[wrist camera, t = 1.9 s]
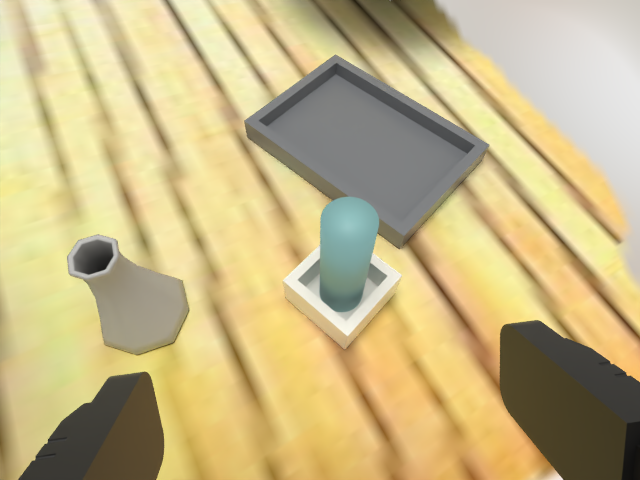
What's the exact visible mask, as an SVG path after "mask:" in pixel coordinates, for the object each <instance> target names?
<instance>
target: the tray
mask: <svg viewBox="0 0 640 480" xmlns="http://www.w3.org/2000/svg"><path fill="white" fill-rule="evenodd" d="M244 122H245V127H246V133H247V137H248V138H249V139H251V140H252V141H253V142H255V143H256V144H257V145H259V146H260V147H261V148H263V149H264V150H266V151H267V152H268V153H270V154H271V155H272V156H274V157H275V158H276V159H278V160H279V161H280V162H282V163H283V164H285V165H286V166H287V167H289V168H290V169H291V170H293V171H294V172H295V173H297V174H298V175H300V176H301V177H302V178H304V179H305V180H306V181H308V182H309V183H310V184H312V185H313V186H314V187H316V188H317V189H319V190H320V191H321V192H323V193H324V194H325V195H327V196H328V197H329V198H331V199H332V200H335V199H338V198H342V197H356V198H360V199H362V200H364V201H366V202H368V203H369V204H370V205H372V207H373V208H374V209H375V210H376V212H377V214H378V217H379V228H378V232H377V233H378V234H380V235H381V236H382V237H384V238H385V239H387V240H388V241H389V242H391V243H392V244H393V245H395V246H396V247H397V248H399V249H400V248H401V247H402V246H403V245H404V244H405V243H406V242H407V241H408V240H409V238H410V237H411V236H412V235H413V234H414V233H415V232H416V231H417V230H418V229H419V228H420V227H421V226H422V224H423V223H424V222H425V221H426V220H427V219H428V218H429V217H430V216H431V215H432V214H433V213H434V212H435V210H436V209H437V208H438V207H439V206H440V205H441V204H442V203H443V202H444V201H445V200H446V199H447V198H448V196H449V195H450V194H451V193H452V192H453V191H454V190H455V189H456V188H457V187H458V186H459V185H460V184H461V182H462V181H463V180H464V179H465V178H466V177H467V176H468V175H469V174H470V173H471V172H472V171H473V170H474V168H475V167H476V166H477V165H478V164H479V163H480V162H481V161H482V159H483V157H484V155H485V153H486V151H487V149H488V147H489V144H487V143H485V142H484V141H482V140H480V139H479V138H477V137H475V136H473V135H472V134H470V133H468V132H467V131H465V130H463V129H462V128H460V127H458V126H456V125H455V124H453V123H451V122H450V121H448V120H446V119H444V118H443V117H441V116H439V115H438V114H436V113H434V112H433V111H431V110H429V109H427V108H426V107H424V106H422V105H421V104H419V103H417V102H416V101H414V100H412V99H410V98H409V97H407V96H405V95H404V94H402V93H400V92H398V91H397V90H395V89H393V88H392V87H390V86H388V85H387V84H385V83H383V82H381V81H380V80H378V79H376V78H375V77H373V76H371V75H370V74H368V73H366V72H364V71H363V70H361V69H359V68H358V67H356V66H354V65H352V64H351V63H349V62H347V61H346V60H344V59H342V58H341V57H339V56H337V55H334V56H333V57H331V58H330V59H329V60H327V61H326V62H325V63H323V64H322V65H320V66H319V67H318V68H316V69H315V70H314V71H312V72H311V73H309V74H308V75H307V76H305V77H304V78H303V79H301V80H300V81H299V82H297V83H296V84H294V85H293V86H292V87H290V88H289V89H288V90H286V91H285V92H283V93H282V94H281V95H279V96H278V97H277V98H275V99H274V100H272V101H271V102H270V103H268V104H267V105H266V106H264V107H263V108H261V109H260V110H259V111H257V112H256V113H255V114H253V115H252V116H251V117H249V118H248V119H246V120H245V121H244Z"/></svg>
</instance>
